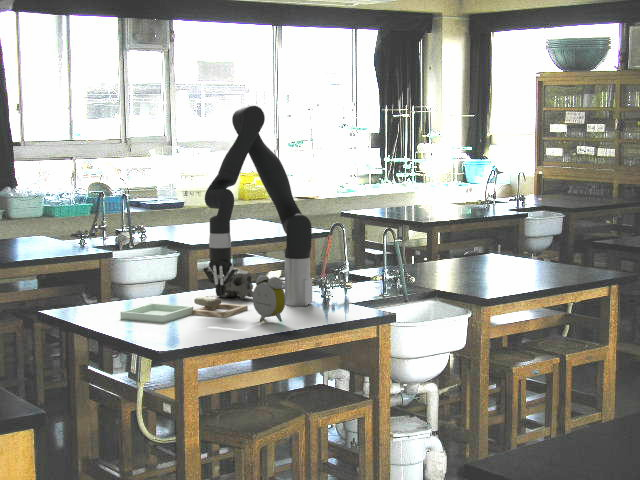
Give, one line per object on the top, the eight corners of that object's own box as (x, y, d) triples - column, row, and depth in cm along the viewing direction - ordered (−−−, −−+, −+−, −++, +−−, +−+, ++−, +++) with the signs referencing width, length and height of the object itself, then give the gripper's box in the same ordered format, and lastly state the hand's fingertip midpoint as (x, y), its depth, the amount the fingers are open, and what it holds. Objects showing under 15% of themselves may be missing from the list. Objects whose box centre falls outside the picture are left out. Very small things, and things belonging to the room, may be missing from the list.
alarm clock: (286, 321, 345) (286, 277, 344) (271, 324, 341) (271, 279, 339) (263, 317, 354) (263, 273, 352) (248, 319, 349) (247, 275, 347)
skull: (240, 302, 383) (240, 271, 382) (209, 297, 396) (208, 267, 394) (263, 299, 391) (263, 268, 390) (231, 294, 404) (231, 264, 403)
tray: (193, 313, 360) (193, 306, 360) (163, 323, 343) (163, 315, 343) (151, 310, 367) (151, 303, 367) (120, 319, 350) (120, 311, 350)
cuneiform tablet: (210, 297, 360) (192, 293, 369) (211, 309, 361) (192, 305, 370) (227, 294, 365) (208, 290, 374) (228, 306, 365) (209, 302, 374)
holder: (247, 309, 368) (247, 305, 368) (225, 317, 354) (225, 312, 353) (215, 307, 373) (215, 303, 373) (192, 314, 359) (192, 310, 359)
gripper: (242, 245, 362) (243, 294, 363) (208, 244, 367) (209, 292, 369) (231, 247, 355) (232, 298, 357) (197, 246, 360) (198, 295, 362)
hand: (220, 295), depth 363 cm, fingers closed, pressing on cuneiform tablet
